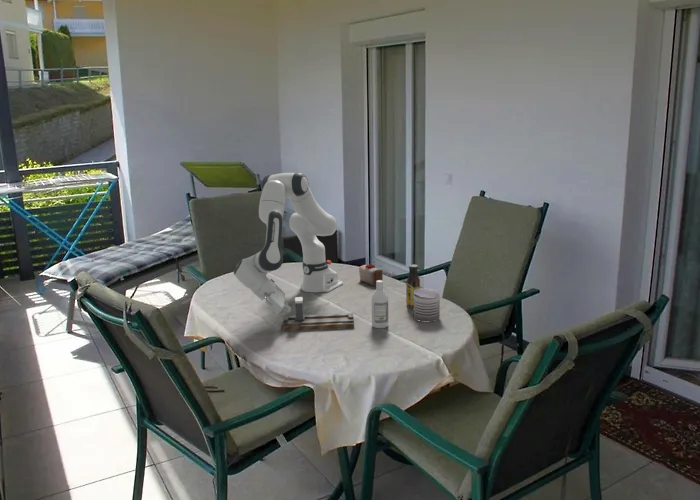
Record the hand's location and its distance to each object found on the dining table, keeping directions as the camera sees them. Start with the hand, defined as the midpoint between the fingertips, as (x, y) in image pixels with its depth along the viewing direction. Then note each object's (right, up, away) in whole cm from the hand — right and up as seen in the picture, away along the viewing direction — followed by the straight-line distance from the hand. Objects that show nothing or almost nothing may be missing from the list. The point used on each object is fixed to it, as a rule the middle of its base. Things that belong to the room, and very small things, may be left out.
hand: (290, 310), depth 273 cm
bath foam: (+39, -7, -1) cm, 39 cm away
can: (+59, -4, +7) cm, 60 cm away
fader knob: (+4, -4, +1) cm, 6 cm away
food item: (+37, +9, +58) cm, 69 cm away
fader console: (+12, -6, +3) cm, 14 cm away
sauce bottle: (+55, 0, +21) cm, 59 cm away
